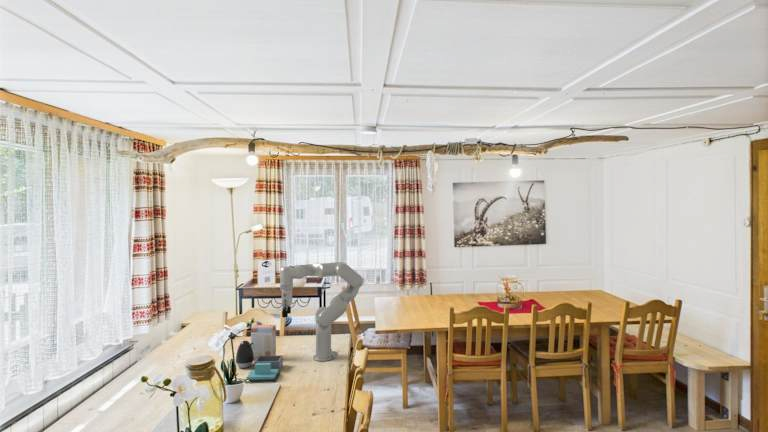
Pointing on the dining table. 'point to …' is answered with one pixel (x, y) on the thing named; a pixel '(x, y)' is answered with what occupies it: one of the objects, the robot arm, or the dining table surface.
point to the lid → (262, 372)
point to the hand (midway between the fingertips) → (286, 315)
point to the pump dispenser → (244, 355)
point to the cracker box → (263, 340)
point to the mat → (265, 380)
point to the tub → (271, 361)
